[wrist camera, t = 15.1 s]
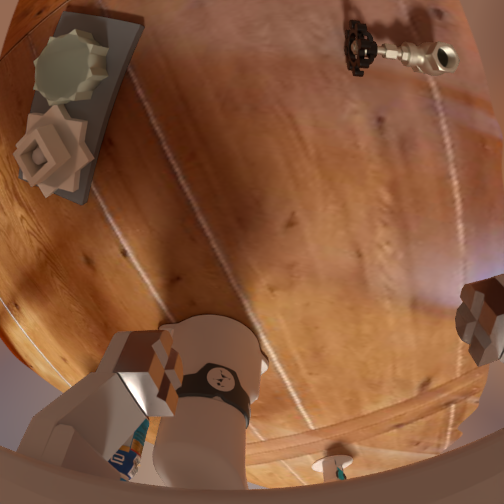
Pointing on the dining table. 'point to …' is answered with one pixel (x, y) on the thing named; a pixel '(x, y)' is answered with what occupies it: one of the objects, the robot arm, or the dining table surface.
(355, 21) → the valve
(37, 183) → the gear
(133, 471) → the beverage bottle
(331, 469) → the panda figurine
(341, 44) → the dining table surface
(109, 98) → the board
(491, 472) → the robot arm
